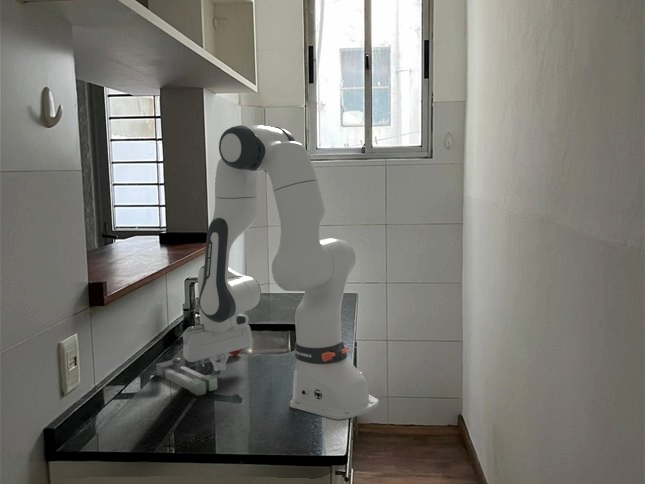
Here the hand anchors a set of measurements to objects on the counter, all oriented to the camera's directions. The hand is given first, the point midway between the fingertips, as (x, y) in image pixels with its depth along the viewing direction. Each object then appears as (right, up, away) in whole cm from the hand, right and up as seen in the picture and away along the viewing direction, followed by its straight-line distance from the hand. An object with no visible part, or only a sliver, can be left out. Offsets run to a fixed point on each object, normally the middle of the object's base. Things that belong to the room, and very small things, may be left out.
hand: (219, 369), depth 179 cm
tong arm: (-7, -2, -3) cm, 8 cm away
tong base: (-9, -3, -3) cm, 10 cm away
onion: (+2, 0, +19) cm, 19 cm away
